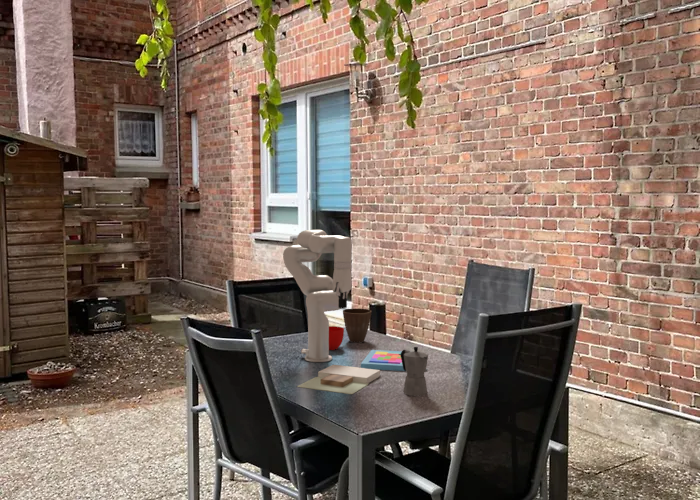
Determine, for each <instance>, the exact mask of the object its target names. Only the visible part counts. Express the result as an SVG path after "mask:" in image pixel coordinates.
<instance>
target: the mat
mask: <svg viewBox="0 0 700 500" xmlns="http://www.w3.org/2000/svg"><path fill="white" fill-rule="evenodd" d="M321 379H322V378H321V377H318V376H315V377H313V378H311V379H308V380H307V381H305V382H302V383H301V384H299V385H297V387H296V388H301V389H302V388H303V389H309V390H316V391H323V392H330V393H338V394H339V393H340V394H346V395H353V394H356V393H357V392H359V391H361V390H362V389H364V388H366V387H367V386H369V385H370V383H360V382H351V383H349V384H348V385H346V386H344V387H339V386H331V385H324V384H321Z"/></svg>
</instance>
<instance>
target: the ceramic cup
mask: <svg viewBox="0 0 700 500" xmlns="http://www.w3.org/2000/svg"><path fill="white" fill-rule="evenodd" d="M344 333H345V328H344V327H342V326H335V325H331V326H330V325H329V351H336V350H338V349H339V348H340V346H341V345H342V343H343V340H344V335H345V334H344ZM335 349H336V350H335Z"/></svg>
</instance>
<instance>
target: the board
mask: <svg viewBox="0 0 700 500" xmlns="http://www.w3.org/2000/svg"><path fill="white" fill-rule="evenodd" d="M330 374H335V375H343V376H350V377H353V382H360V383H368V384H370V383H372V382H373V381H374V380H376V379H377V378H380V377H381V370H376V369H366V368H361V367H358V366H347V365H341V364H332V365H329V366H327V367H326V368H323V369H321V370H320V371H319V370H318V371H317V377H321V378H324V377H326V376H328V375H330Z"/></svg>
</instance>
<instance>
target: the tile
mask: <svg viewBox="0 0 700 500" xmlns="http://www.w3.org/2000/svg"><path fill="white" fill-rule="evenodd" d="M351 382H353V377H350V376H343V375H335V374H330V375H328V376H326V377H324V378H322V379H321V384H324V385H331V386H339V387H344V386H346V385H348V384H349V383H351Z"/></svg>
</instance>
